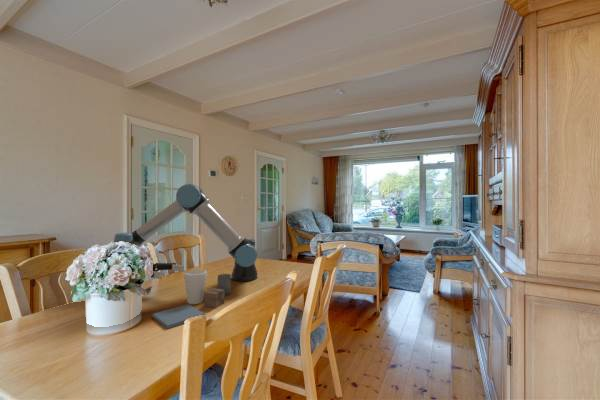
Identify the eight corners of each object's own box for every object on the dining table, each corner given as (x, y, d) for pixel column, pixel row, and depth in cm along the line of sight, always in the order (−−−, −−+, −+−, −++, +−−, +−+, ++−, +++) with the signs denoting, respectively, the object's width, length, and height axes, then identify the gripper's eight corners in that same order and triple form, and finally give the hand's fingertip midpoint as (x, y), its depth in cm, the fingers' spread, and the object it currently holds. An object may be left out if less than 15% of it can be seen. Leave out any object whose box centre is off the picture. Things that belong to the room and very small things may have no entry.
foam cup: (198, 296, 127) (199, 268, 128) (210, 300, 122) (211, 271, 122) (179, 302, 120) (180, 272, 120) (191, 307, 114) (192, 276, 114)
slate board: (188, 307, 115) (188, 304, 115) (204, 316, 105) (204, 313, 105) (152, 316, 104) (152, 313, 104) (167, 328, 95) (167, 325, 95)
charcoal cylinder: (226, 291, 136) (226, 273, 136) (232, 294, 131) (233, 275, 132) (215, 294, 131) (215, 275, 131) (221, 297, 127) (221, 277, 127)
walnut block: (212, 301, 122) (213, 288, 122) (224, 303, 120) (224, 289, 120) (204, 306, 116) (204, 292, 116) (215, 308, 114) (216, 294, 114)
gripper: (158, 269, 142) (191, 273, 135) (111, 281, 118) (149, 288, 112) (158, 254, 142) (192, 258, 135) (112, 264, 118) (149, 269, 112)
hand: (172, 271), depth 123 cm, fingers open, 13 cm apart
